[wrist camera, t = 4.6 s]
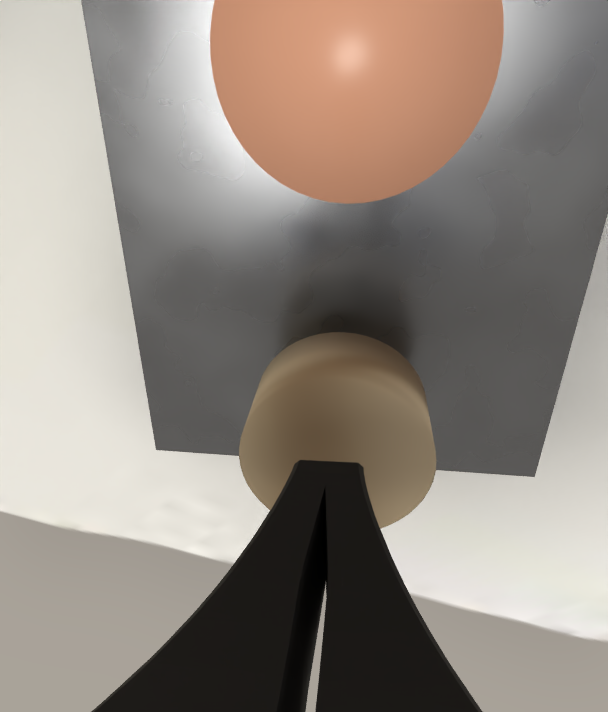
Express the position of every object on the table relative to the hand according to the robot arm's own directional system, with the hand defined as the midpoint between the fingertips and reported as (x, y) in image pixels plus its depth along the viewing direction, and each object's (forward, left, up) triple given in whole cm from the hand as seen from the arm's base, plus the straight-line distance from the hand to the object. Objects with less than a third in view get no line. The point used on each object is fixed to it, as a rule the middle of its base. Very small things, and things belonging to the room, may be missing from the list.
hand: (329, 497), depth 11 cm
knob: (0, +1, -5) cm, 5 cm away
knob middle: (0, -8, -5) cm, 9 cm away
